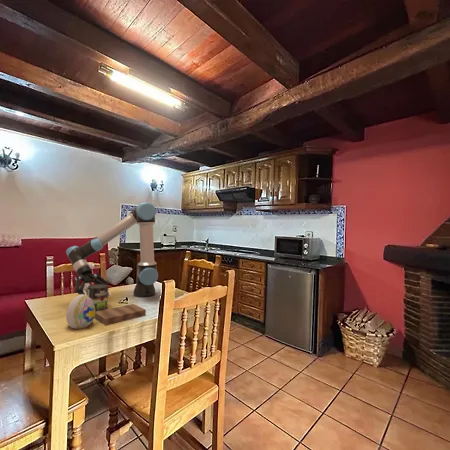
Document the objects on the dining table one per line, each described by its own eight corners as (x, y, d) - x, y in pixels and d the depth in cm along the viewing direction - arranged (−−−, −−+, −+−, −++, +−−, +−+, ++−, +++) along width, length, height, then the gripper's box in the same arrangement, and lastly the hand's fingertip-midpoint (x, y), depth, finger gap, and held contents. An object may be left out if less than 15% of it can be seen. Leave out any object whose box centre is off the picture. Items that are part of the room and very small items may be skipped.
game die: (82, 298, 180) (79, 285, 184) (95, 293, 183) (92, 281, 187) (78, 295, 172) (75, 282, 176) (91, 290, 175) (88, 277, 179)
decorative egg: (80, 332, 117) (82, 299, 117) (59, 328, 121) (60, 296, 121) (100, 322, 129) (101, 292, 129) (80, 319, 132) (81, 290, 133)
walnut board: (132, 308, 152) (133, 303, 152) (145, 315, 143) (145, 309, 143) (93, 317, 136) (94, 311, 136) (105, 325, 127) (105, 319, 127)
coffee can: (110, 310, 147) (111, 286, 147) (92, 315, 139) (93, 289, 139) (101, 306, 154) (102, 283, 154) (83, 310, 145) (84, 285, 146)
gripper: (97, 270, 165) (113, 297, 158) (58, 276, 142) (74, 308, 136) (104, 262, 162) (120, 290, 156) (64, 267, 140) (81, 299, 133)
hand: (99, 298), depth 146 cm, fingers open, 13 cm apart
